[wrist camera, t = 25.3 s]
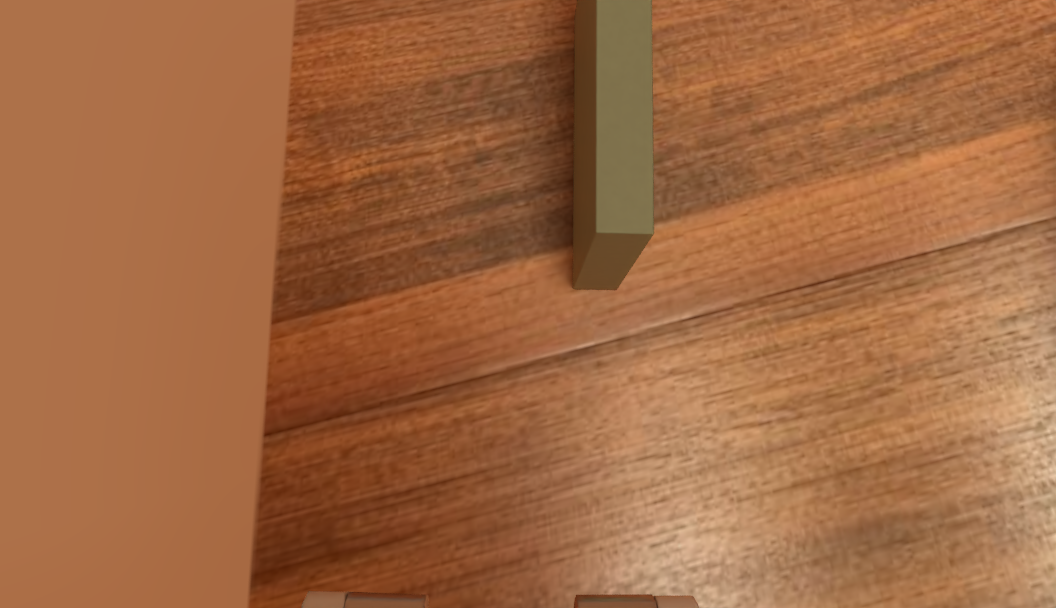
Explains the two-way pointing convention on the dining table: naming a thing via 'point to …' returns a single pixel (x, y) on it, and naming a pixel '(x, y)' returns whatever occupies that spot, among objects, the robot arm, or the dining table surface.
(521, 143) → the dining table surface
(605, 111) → the olive green rectangular slab
